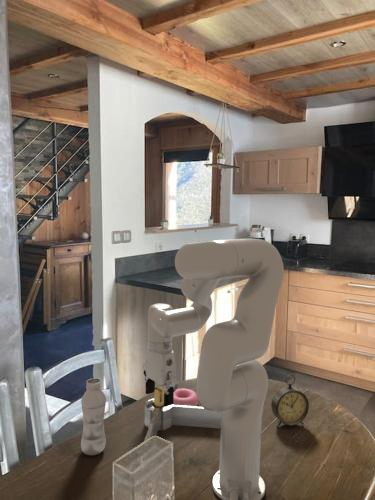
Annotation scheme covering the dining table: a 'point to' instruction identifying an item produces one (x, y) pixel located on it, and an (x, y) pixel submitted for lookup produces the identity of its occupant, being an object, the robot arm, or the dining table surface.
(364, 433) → the dining table surface
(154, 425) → the hinge
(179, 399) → the doughnut
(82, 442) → the plastic bottle
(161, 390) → the hinge pin
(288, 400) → the alarm clock
